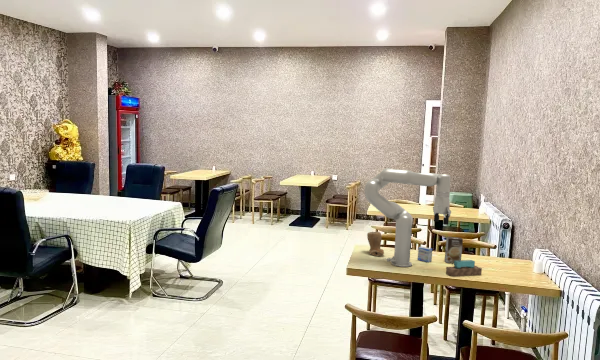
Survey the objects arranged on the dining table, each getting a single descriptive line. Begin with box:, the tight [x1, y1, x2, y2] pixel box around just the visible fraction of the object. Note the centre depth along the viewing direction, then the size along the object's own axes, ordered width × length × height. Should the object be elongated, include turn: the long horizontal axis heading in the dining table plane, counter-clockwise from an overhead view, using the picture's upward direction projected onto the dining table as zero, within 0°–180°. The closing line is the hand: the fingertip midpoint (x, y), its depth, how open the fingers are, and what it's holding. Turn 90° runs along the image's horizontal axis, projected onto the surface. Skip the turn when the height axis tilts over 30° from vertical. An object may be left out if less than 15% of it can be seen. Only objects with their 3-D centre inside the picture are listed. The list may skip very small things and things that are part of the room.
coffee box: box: [444, 236, 464, 264], centre depth 299 cm, size 9×6×16 cm
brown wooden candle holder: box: [445, 265, 483, 277], centre depth 273 cm, size 20×6×4 cm, turn 107°
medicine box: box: [417, 245, 433, 263], centre depth 300 cm, size 8×4×9 cm, turn 47°
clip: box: [453, 259, 476, 269], centre depth 273 cm, size 12×3×8 cm, turn 106°
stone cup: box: [366, 231, 385, 257], centre depth 312 cm, size 15×12×15 cm
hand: (440, 222), depth 280 cm, fingers open, 9 cm apart
